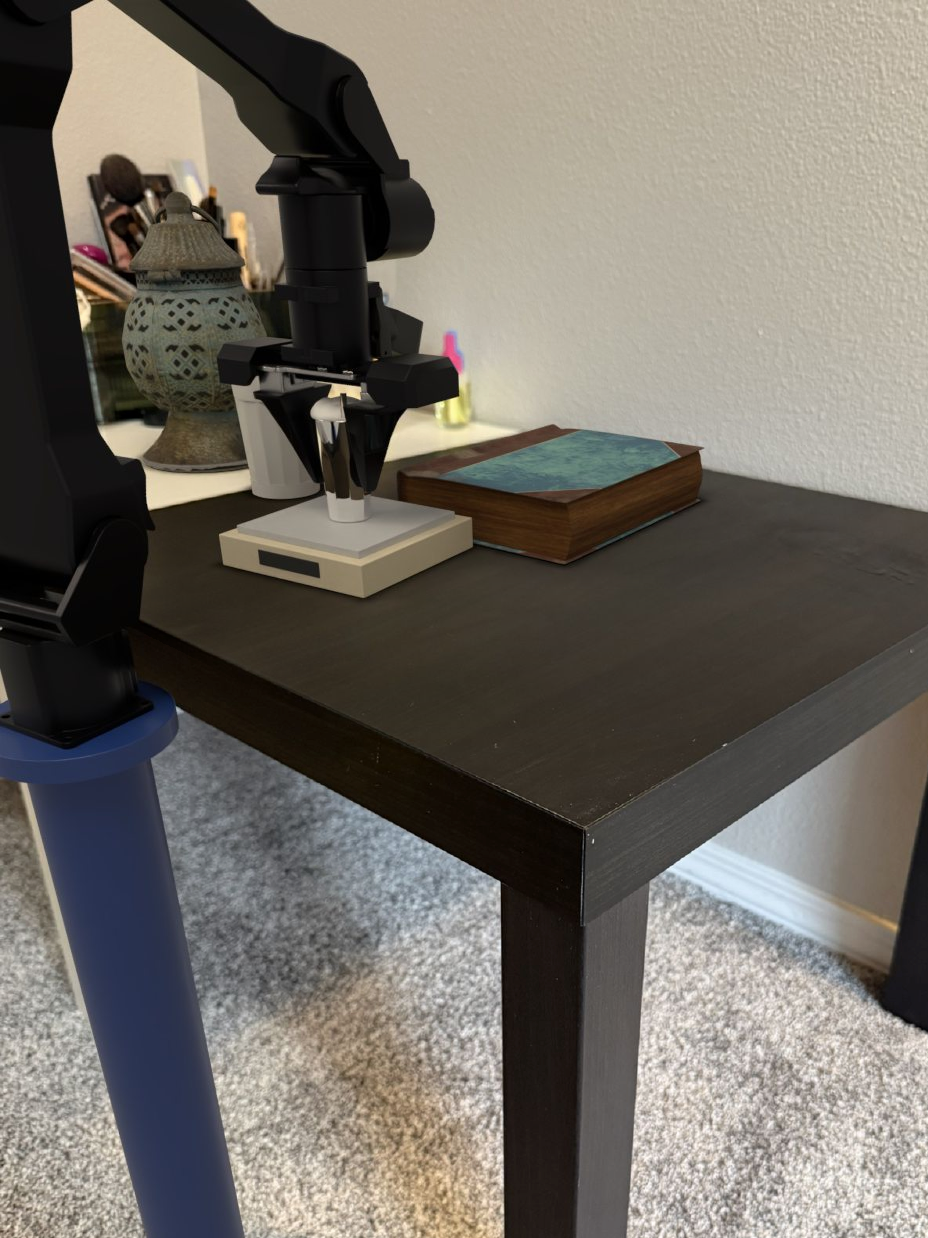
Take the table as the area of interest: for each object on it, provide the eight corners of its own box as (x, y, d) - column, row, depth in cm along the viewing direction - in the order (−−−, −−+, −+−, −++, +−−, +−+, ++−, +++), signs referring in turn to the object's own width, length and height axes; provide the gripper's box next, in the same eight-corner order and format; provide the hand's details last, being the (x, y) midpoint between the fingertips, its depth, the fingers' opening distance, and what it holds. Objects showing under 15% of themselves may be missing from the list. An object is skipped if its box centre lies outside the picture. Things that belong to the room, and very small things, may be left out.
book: (549, 473, 110) (550, 422, 108) (703, 501, 102) (707, 447, 99) (398, 526, 94) (395, 468, 91) (567, 565, 85) (568, 502, 83)
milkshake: (323, 530, 82) (310, 394, 77) (318, 511, 87) (305, 381, 82) (384, 526, 83) (374, 391, 78) (375, 507, 88) (366, 378, 83)
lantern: (114, 457, 114) (64, 190, 102) (225, 434, 124) (192, 188, 112) (196, 479, 106) (153, 193, 95) (308, 453, 116) (281, 191, 105)
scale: (363, 599, 78) (360, 557, 77) (222, 565, 84) (216, 526, 83) (473, 547, 89) (472, 510, 87) (341, 520, 95) (337, 485, 94)
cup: (338, 480, 107) (327, 352, 101) (314, 502, 100) (300, 366, 94) (260, 477, 107) (244, 350, 102) (230, 499, 100) (212, 363, 95)
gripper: (499, 266, 79) (502, 481, 86) (303, 254, 87) (322, 451, 94) (405, 278, 70) (418, 515, 78) (198, 263, 78) (227, 478, 86)
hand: (344, 486), depth 84 cm, fingers open, 5 cm apart
